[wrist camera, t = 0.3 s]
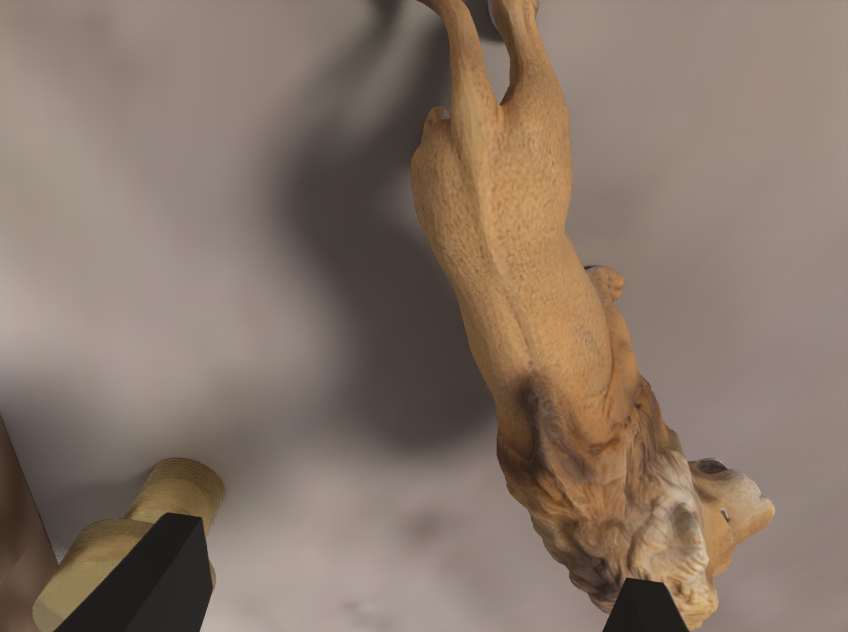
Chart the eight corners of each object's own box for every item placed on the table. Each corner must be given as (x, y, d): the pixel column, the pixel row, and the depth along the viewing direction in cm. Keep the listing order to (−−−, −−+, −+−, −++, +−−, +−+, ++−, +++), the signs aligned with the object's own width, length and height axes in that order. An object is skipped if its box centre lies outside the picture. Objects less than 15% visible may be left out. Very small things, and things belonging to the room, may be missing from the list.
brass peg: (253, 533, 27) (196, 684, 22) (137, 517, 27) (53, 663, 22) (244, 448, 24) (176, 599, 19) (115, 431, 24) (13, 576, 19)
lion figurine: (710, 362, 20) (834, 642, 13) (553, 418, 22) (581, 690, 15) (488, -124, 14) (474, -134, 6) (294, 14, 16) (109, 130, 8)
